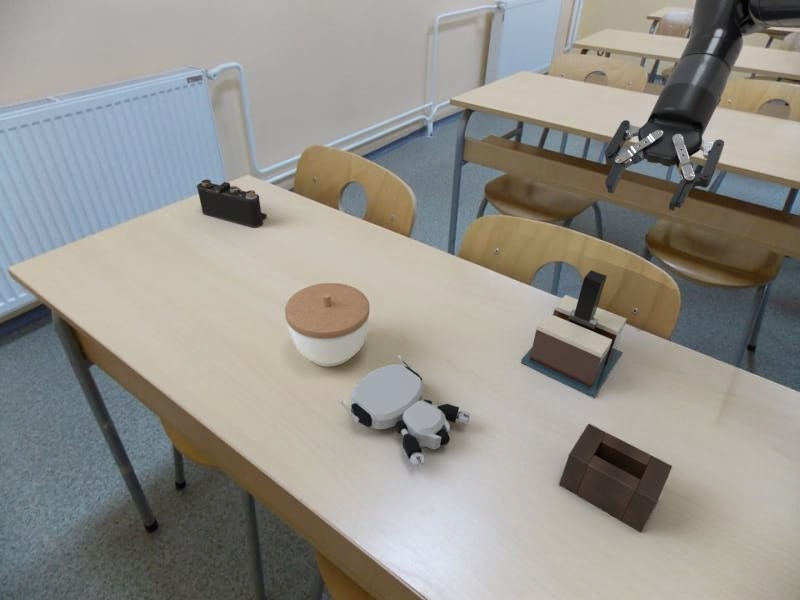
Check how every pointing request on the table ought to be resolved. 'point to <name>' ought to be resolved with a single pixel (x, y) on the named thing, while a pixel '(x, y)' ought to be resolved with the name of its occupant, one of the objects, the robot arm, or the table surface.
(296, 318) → the lidded bowl
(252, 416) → the table surface
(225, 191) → the camera
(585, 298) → the dark grey tall bar
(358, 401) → the robot toy
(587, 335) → the slotted fixture
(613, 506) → the brown rectangular frame
